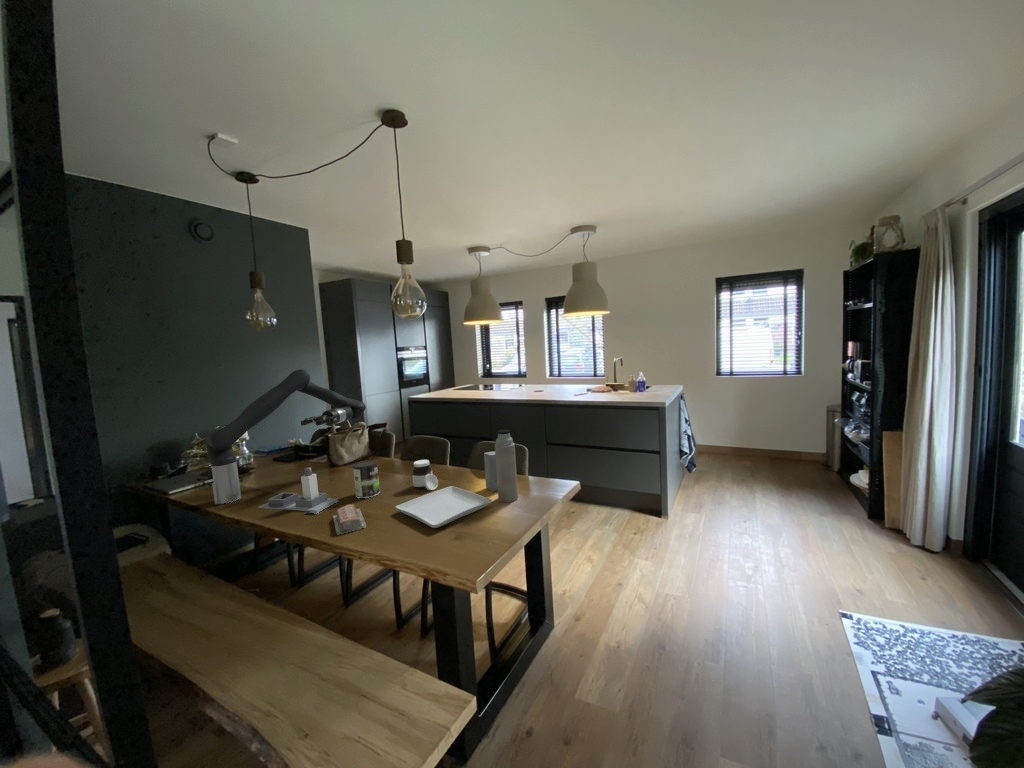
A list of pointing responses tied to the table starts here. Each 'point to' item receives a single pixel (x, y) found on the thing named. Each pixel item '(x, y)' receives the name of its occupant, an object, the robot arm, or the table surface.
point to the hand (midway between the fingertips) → (308, 423)
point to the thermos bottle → (506, 467)
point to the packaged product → (348, 519)
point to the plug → (309, 484)
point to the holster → (281, 501)
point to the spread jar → (424, 476)
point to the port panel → (312, 503)
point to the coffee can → (366, 479)
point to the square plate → (443, 506)
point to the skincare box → (490, 471)
